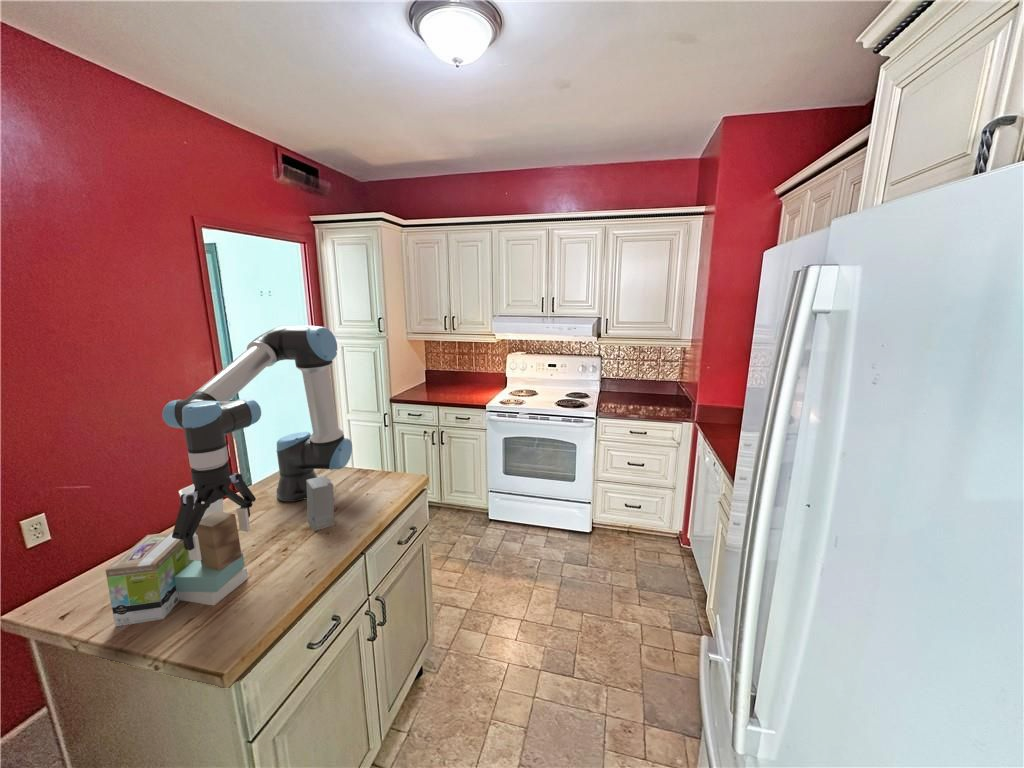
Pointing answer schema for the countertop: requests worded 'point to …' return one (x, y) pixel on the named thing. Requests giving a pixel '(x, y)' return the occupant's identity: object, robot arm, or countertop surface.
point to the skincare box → (320, 502)
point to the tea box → (146, 579)
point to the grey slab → (215, 597)
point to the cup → (213, 506)
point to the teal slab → (206, 577)
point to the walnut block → (218, 540)
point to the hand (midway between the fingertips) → (221, 544)
